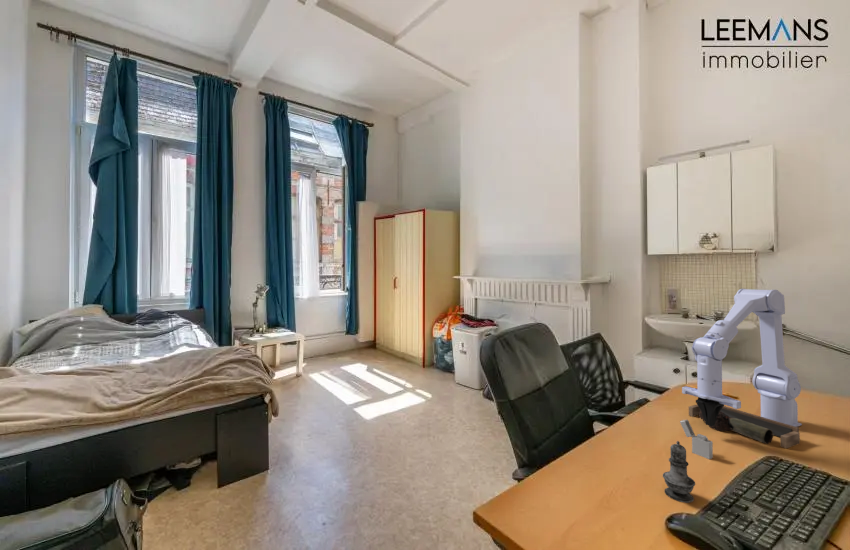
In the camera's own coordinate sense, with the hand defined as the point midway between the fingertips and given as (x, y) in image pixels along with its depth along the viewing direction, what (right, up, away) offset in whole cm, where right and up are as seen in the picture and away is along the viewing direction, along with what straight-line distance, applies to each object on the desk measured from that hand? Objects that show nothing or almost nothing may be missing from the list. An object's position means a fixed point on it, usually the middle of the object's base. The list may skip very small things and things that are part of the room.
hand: (710, 424), depth 106 cm
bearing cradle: (+14, -3, +6) cm, 15 cm away
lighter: (-11, -4, -9) cm, 15 cm away
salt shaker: (-28, -4, -27) cm, 39 cm away
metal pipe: (+9, -4, +3) cm, 10 cm away
